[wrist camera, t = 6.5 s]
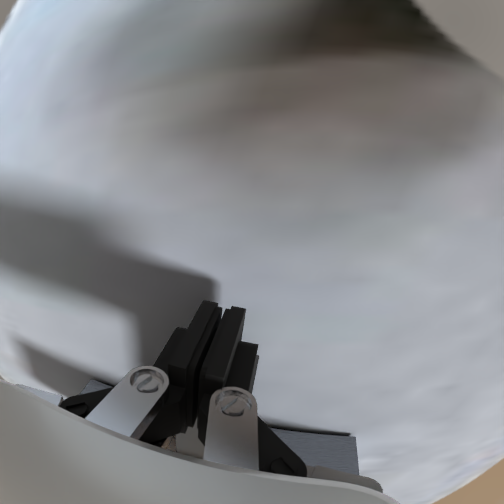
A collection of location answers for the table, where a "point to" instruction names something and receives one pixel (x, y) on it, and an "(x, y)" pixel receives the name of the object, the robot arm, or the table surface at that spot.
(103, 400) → the robot arm
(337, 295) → the table surface
